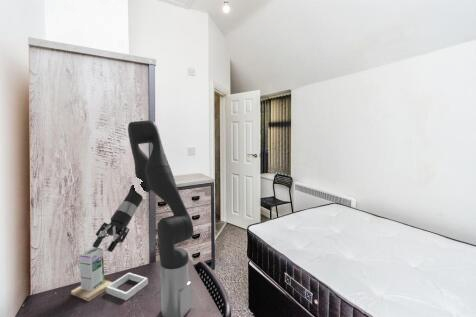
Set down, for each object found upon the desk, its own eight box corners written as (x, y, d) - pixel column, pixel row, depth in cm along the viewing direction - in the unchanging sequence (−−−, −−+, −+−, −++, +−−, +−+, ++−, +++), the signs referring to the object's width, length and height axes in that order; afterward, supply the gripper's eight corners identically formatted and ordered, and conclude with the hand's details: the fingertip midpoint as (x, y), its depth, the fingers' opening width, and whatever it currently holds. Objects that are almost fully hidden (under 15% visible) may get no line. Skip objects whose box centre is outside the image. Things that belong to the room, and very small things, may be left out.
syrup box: (92, 291, 86) (91, 255, 85) (80, 289, 87) (78, 253, 86) (105, 283, 91) (103, 248, 90) (93, 280, 93) (91, 246, 92)
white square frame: (148, 283, 93) (147, 278, 93) (126, 300, 83) (126, 294, 83) (129, 277, 97) (128, 272, 97) (106, 293, 87) (106, 286, 87)
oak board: (113, 285, 92) (113, 282, 92) (88, 301, 83) (88, 298, 82) (96, 279, 96) (96, 276, 96) (71, 294, 86) (71, 291, 86)
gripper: (107, 207, 102) (83, 242, 92) (131, 211, 96) (107, 248, 87) (118, 215, 107) (96, 249, 97) (141, 219, 102) (120, 255, 92)
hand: (101, 249), depth 92 cm, fingers open, 8 cm apart
